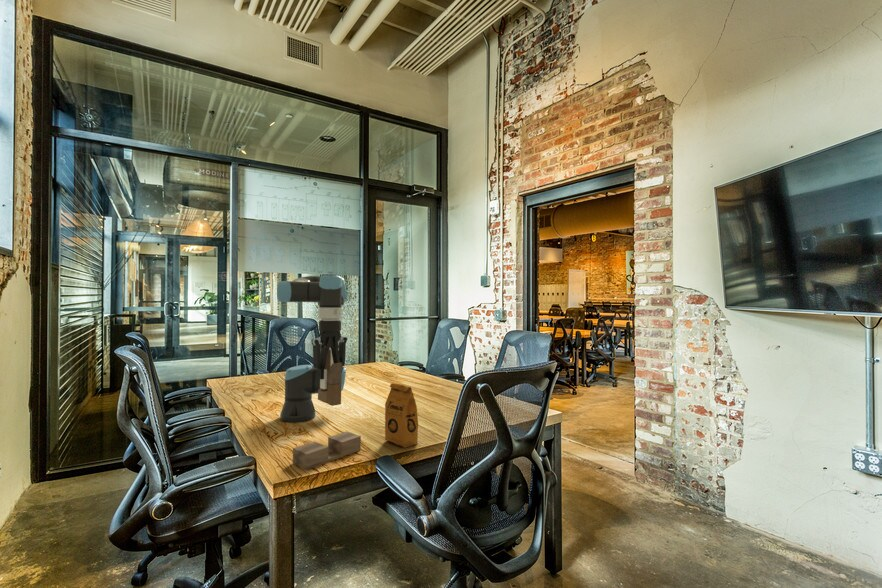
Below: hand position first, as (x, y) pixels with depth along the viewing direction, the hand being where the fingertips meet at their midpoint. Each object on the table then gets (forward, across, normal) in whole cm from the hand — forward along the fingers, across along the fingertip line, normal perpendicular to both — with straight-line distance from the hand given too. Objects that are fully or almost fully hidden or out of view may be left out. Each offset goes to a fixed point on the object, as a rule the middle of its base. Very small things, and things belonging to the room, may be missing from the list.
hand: (329, 387), depth 139 cm
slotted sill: (+24, 0, 0) cm, 24 cm away
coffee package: (+24, +26, -10) cm, 37 cm away
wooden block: (+5, 0, 0) cm, 5 cm away
